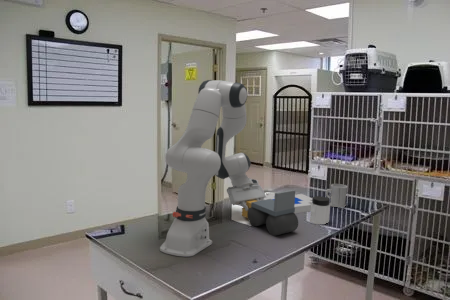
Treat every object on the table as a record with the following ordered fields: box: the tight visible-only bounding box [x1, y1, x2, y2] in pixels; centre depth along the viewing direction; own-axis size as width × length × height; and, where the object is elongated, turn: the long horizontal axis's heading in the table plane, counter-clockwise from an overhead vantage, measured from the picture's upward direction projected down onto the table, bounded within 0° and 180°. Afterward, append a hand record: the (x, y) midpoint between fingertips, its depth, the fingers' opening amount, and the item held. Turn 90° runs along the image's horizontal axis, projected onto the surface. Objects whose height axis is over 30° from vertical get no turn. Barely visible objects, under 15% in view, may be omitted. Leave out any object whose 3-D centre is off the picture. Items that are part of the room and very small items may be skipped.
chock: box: [241, 200, 256, 219], centre depth 174 cm, size 7×6×8 cm
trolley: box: [247, 189, 299, 237], centre depth 162 cm, size 22×12×19 cm, turn 36°
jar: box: [309, 195, 331, 225], centre depth 173 cm, size 9×8×12 cm
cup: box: [325, 183, 348, 208], centre depth 201 cm, size 10×9×12 cm
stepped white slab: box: [260, 191, 313, 214], centre depth 200 cm, size 28×4×28 cm
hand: (253, 209), depth 173 cm, fingers closed on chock, 5 cm apart
